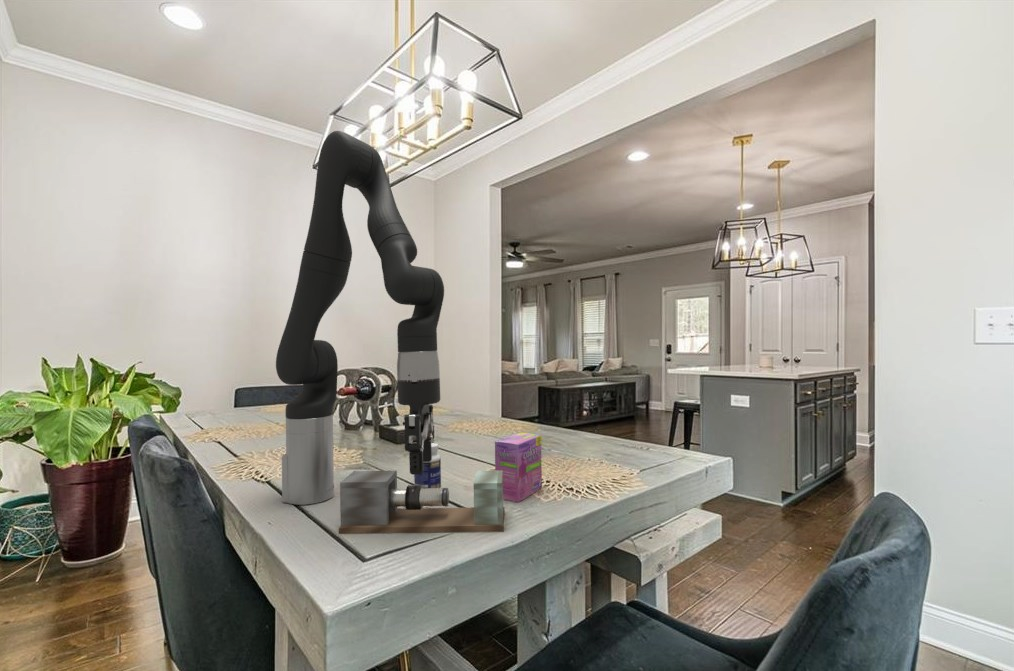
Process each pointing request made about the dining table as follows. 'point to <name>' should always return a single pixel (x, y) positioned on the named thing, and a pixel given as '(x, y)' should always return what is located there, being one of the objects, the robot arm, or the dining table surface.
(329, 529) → the dining table surface
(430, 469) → the pill bottle
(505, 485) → the box
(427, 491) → the tube
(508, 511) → the dining table surface
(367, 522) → the rail base
